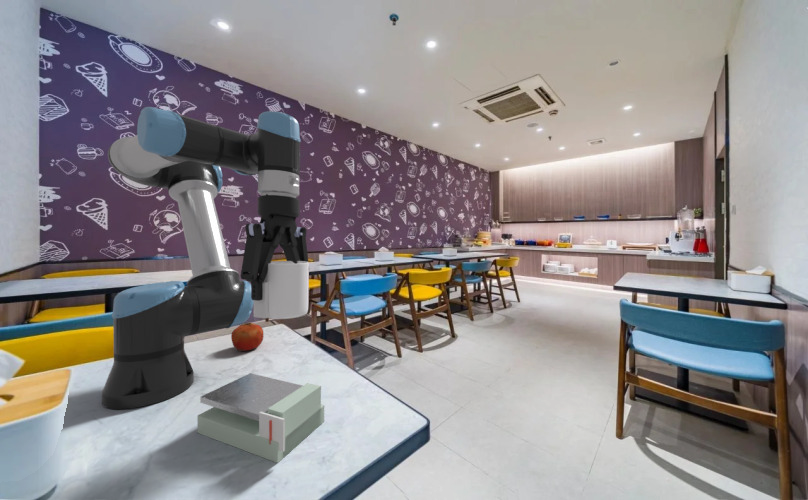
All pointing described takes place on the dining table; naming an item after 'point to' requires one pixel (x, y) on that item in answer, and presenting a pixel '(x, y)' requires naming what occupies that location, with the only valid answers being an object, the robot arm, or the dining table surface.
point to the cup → (287, 289)
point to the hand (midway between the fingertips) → (278, 311)
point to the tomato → (247, 336)
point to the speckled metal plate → (249, 395)
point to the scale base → (268, 424)
